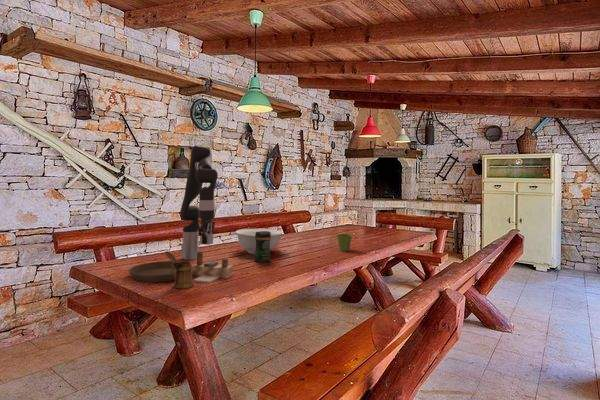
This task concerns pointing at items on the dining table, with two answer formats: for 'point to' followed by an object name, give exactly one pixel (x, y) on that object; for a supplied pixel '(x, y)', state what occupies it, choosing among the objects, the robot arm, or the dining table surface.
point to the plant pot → (344, 241)
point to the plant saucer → (153, 271)
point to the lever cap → (208, 239)
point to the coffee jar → (262, 246)
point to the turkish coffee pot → (181, 273)
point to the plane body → (211, 268)
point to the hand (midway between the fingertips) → (206, 243)
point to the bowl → (249, 241)
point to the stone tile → (206, 279)
